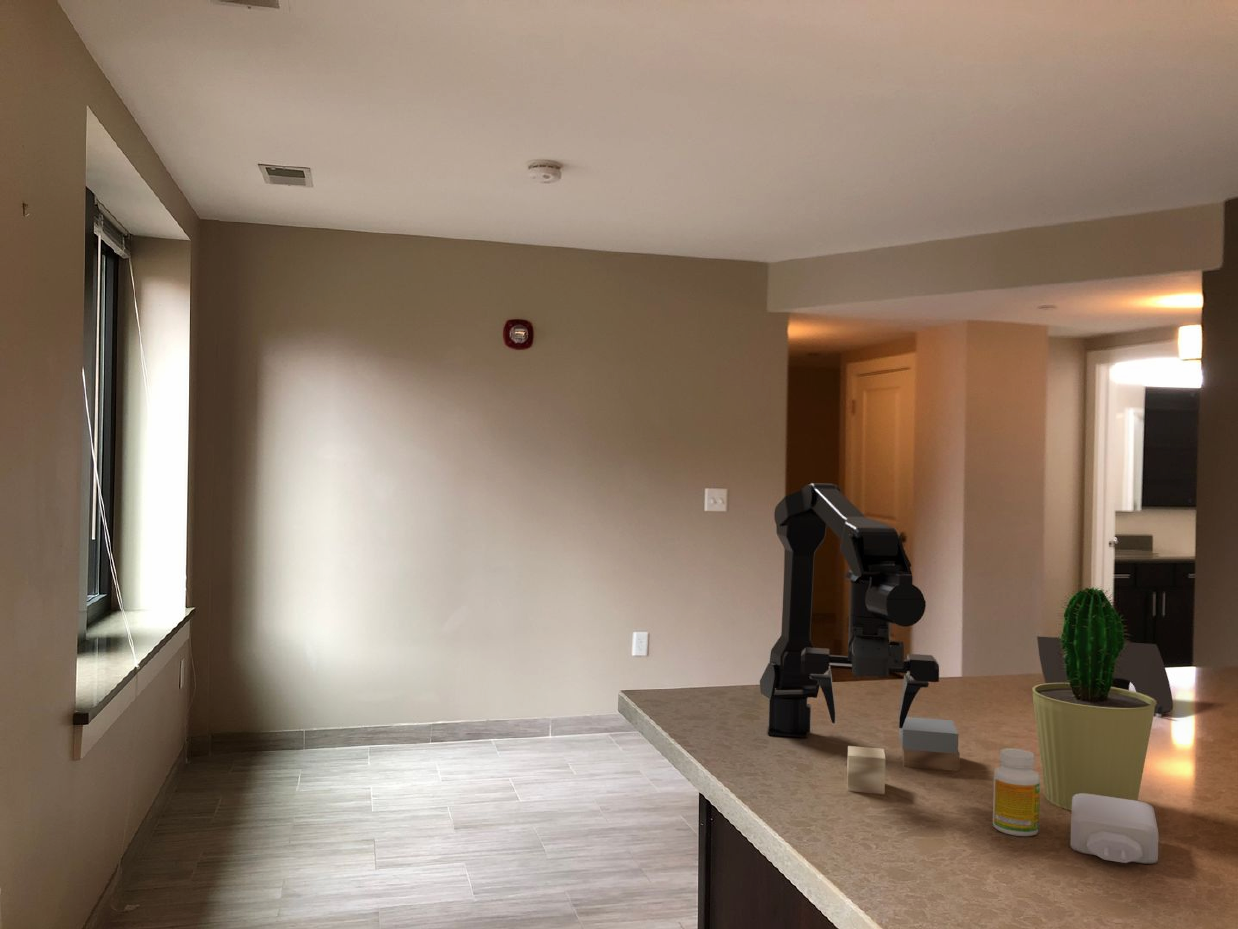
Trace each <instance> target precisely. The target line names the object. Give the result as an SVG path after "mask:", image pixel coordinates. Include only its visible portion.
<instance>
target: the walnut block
mask: <svg viewBox="0 0 1238 929" xmlns="http://www.w3.org/2000/svg"><path fill="white" fill-rule="evenodd" d="M900 754H901V759H902V760H901V761H902V763H903V764H902V765H903V767H908V768H919V769H928V770H929V769H931V770H932V769H933V770H943V771H945V770H946V771H951V772H952V771H953V772H960V755H961V753H960V751H959V750H958V754H954V753H942V752H930V751H918V750H906V749H902V744H901V743H900Z"/></svg>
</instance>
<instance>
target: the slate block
mask: <svg viewBox="0 0 1238 929" xmlns="http://www.w3.org/2000/svg"><path fill="white" fill-rule="evenodd" d="M899 740H900V745H901V744H902V749H906V750H918V751H930V752H942V753H954V754H958V751H959V732H958V730H957V727H956V725H955V723H954V720H950V719H940V718H939V719H938V718H927V717H925V718H924V717H914V716H913V717H911V716H907V717H906V719H905V722H904V725H903V727H902V728H899Z"/></svg>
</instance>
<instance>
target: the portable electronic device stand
mask: <svg viewBox="0 0 1238 929" xmlns="http://www.w3.org/2000/svg"><path fill="white" fill-rule="evenodd" d="M1059 641H1060V642H1061V637H1058V638H1055V637H1054V636H1052V637H1051V636H1036V642H1037V649H1038V657H1039V661H1040V667H1041V668H1040V669H1041V672H1042V676H1043V680H1044V684H1046V683H1070V682H1069V681H1067V682H1066V681H1065V680H1068V679H1067V674H1066V671H1060V670H1066V668H1065V667H1063V666H1065V663H1064V662H1061V661H1064V660H1065V656H1064V655H1063V654H1065V655H1066V653H1064V652H1063V651H1064V650H1063V648H1062V644H1061V643H1060V642H1059ZM1057 642H1058V644H1057ZM1059 643H1060V644H1059ZM1125 643H1126V644H1125ZM1124 645H1125V646H1124V647H1125V648H1124V649H1125V650H1124V649H1122V650H1121V651H1122V652H1121V651H1120V653H1119V656H1120V655H1121V656H1120V657H1121V658H1120V657H1119V656H1118V657H1117V658H1116V660H1117V659H1118V660H1117V661H1116V660H1115V663H1116V664H1118V665H1116V664H1115V666H1117V667H1120V668H1118V669H1117V667H1115V669H1114V673H1115V674H1116V675H1117V676H1115V675H1113V681H1112V683H1113V684H1114V685H1113V684H1112V685H1111V687H1112V686H1113V687H1115V688H1116V687H1117V688H1120V689H1125V690H1130V685H1131V684H1132V686H1133V687H1134V691H1135V692H1137V693H1141V694H1144V695H1147V696H1149V697H1151V698H1153V699H1154V700H1156V703H1157V704H1156V705H1155V708H1154V716H1155V717H1157V718H1161V717H1162V714H1166V713H1167V714H1168V713H1169V712H1171V711H1173V708H1174V706H1173V705H1174V703H1173V695H1172V694H1173V693H1172V690H1171V685H1170V680H1169V676H1168V673H1167V671H1166V666H1165V664H1164V660H1163V658H1162V656H1161V652H1160V650H1159V647H1158V645H1157V644H1155V643H1143V642H1142V643H1140V642H1130V641H1128V642H1126V641H1125V642H1124ZM1128 646H1129V647H1128ZM1061 650H1062V651H1061ZM1126 650H1127V651H1126ZM1124 651H1125V652H1124ZM1061 652H1062V653H1061ZM1058 653H1059V654H1058ZM1059 655H1060V656H1059ZM1061 655H1062V656H1064V657H1062V656H1061ZM1123 659H1124V660H1123ZM1119 660H1120V661H1119ZM1118 662H1120V663H1118ZM1121 664H1123V665H1121ZM1058 667H1059V668H1058ZM1062 668H1063V669H1062ZM1116 669H1117V670H1116ZM1119 669H1120V670H1119ZM1115 670H1116V671H1115ZM1118 671H1120V672H1118ZM1063 673H1065V675H1064V674H1063ZM1061 674H1062V675H1061ZM1118 676H1119V678H1118ZM1064 678H1065V679H1064ZM1116 680H1117V681H1116Z"/></svg>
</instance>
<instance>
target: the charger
mask: <svg viewBox="0 0 1238 929" xmlns="http://www.w3.org/2000/svg"><path fill="white" fill-rule="evenodd" d="M1070 811H1071V810H1070ZM1070 814H1071V815H1070V848H1071V849H1072V850H1074V851H1075V852H1078V853H1081V854H1085V855H1091V856H1097V857H1099V858H1101V859H1102V860H1105V861H1111V862H1112V861H1113V862H1117V863H1124V864H1127V863H1130V862H1132V863H1138V864H1145V865H1146V864H1147V865H1152V864H1155V863H1157V862H1158V859H1159V830H1158V824H1157V818H1156V814H1155V809H1154V807H1153V806H1152V805H1150V803H1149V804H1148V803H1146V802H1144V801H1139V800H1138V801H1135V800H1128V799H1121V798H1114V797H1107V796H1100V795H1093V794H1085V793H1081V794H1076V795H1074V796H1073V798H1072V811H1071V812H1070Z"/></svg>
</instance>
